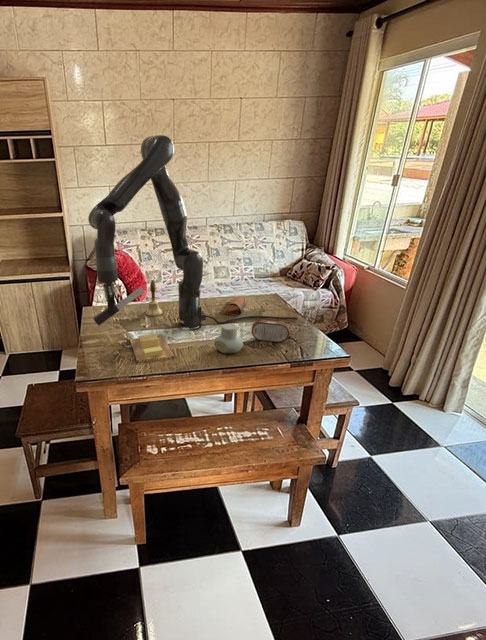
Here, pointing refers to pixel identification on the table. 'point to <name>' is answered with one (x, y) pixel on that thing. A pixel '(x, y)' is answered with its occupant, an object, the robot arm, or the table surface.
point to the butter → (148, 341)
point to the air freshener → (228, 339)
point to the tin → (270, 330)
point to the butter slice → (152, 351)
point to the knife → (117, 307)
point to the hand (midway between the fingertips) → (111, 312)
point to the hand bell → (153, 302)
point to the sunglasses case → (235, 306)
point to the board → (140, 356)
